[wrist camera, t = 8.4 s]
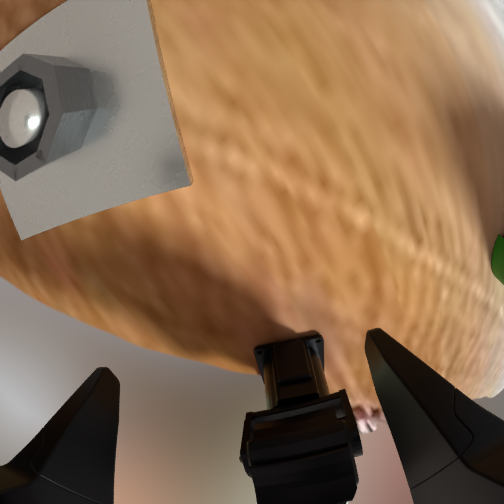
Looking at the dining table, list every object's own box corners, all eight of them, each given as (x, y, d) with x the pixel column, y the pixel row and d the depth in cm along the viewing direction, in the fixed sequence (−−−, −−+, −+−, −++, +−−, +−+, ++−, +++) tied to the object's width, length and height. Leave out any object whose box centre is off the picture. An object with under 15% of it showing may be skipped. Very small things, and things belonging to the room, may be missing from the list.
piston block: (193, 180, 17) (178, 209, 13) (27, 234, 18) (-5, 265, 14) (144, -30, 9) (118, -60, 5) (-16, 73, 10) (-56, 79, 6)
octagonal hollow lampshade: (105, 138, 15) (73, 150, 11) (32, 173, 15) (-2, 192, 12) (84, 42, 11) (49, 34, 8) (12, 90, 11) (-24, 96, 8)
